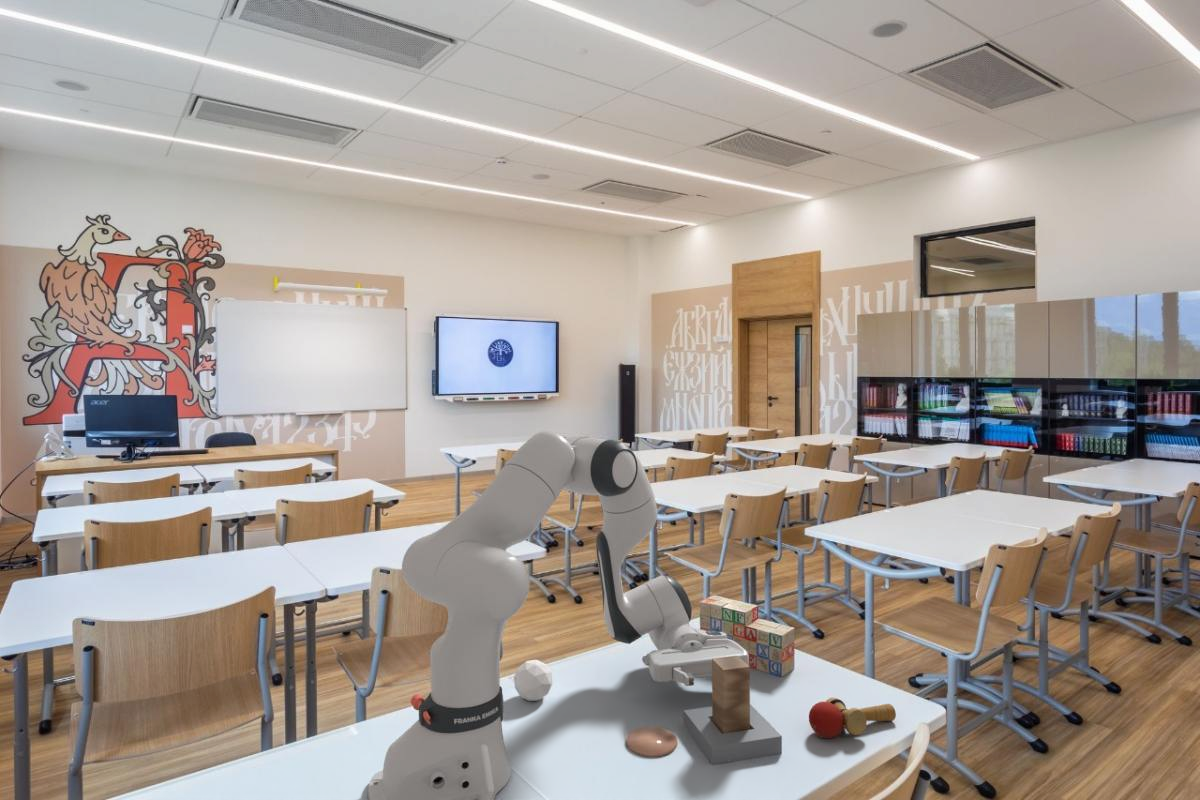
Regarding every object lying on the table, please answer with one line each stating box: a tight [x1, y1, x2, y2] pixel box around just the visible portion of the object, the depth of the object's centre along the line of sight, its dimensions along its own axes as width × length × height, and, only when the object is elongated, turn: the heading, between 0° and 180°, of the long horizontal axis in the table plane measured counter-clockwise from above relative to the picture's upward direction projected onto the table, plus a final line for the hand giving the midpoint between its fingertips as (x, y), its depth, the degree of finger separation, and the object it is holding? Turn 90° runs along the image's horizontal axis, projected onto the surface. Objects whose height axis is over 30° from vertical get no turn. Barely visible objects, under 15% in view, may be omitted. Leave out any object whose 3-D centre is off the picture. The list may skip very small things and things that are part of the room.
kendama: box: [808, 697, 897, 739], centre depth 126 cm, size 8×6×18 cm
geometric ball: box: [513, 659, 553, 702], centre depth 139 cm, size 8×8×8 cm
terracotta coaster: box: [626, 725, 678, 758], centre depth 122 cm, size 9×9×1 cm
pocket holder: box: [683, 703, 783, 765], centre depth 122 cm, size 13×13×3 cm
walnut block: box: [711, 656, 751, 734], centre depth 122 cm, size 5×5×14 cm
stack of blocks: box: [699, 594, 796, 678], centre depth 156 cm, size 21×6×12 cm, turn 47°
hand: (713, 679), depth 129 cm, fingers open, 8 cm apart
